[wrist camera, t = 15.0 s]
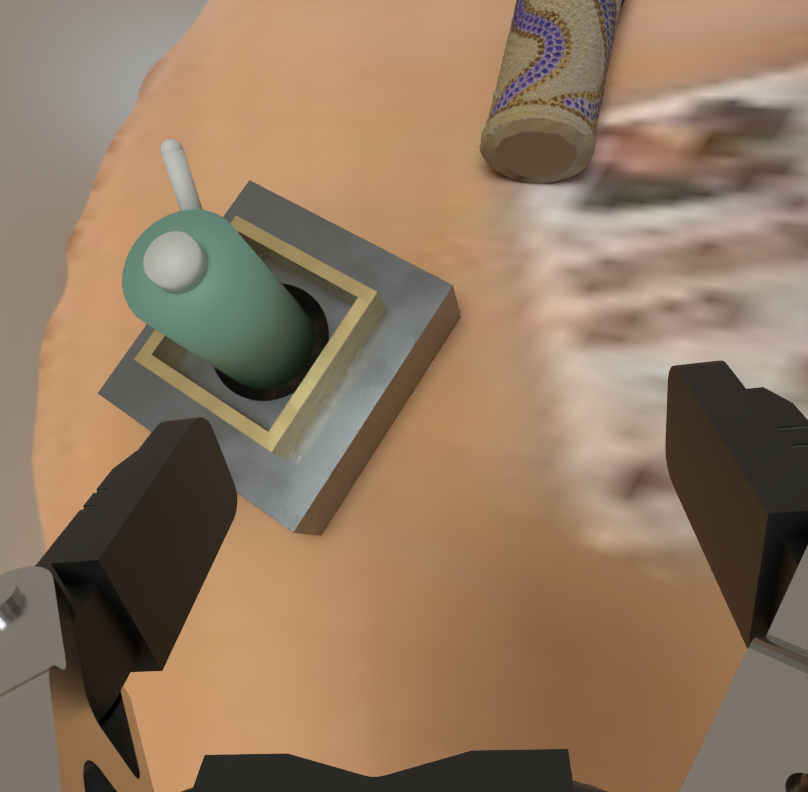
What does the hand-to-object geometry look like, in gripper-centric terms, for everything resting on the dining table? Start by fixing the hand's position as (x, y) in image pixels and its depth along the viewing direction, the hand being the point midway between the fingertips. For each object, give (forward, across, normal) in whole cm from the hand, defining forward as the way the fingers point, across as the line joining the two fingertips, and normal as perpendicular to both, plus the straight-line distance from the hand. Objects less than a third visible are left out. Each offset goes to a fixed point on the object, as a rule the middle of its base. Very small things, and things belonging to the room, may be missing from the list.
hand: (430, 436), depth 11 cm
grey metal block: (+27, +14, +13) cm, 33 cm away
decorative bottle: (+44, -9, -3) cm, 45 cm away
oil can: (+25, +13, +7) cm, 29 cm away
